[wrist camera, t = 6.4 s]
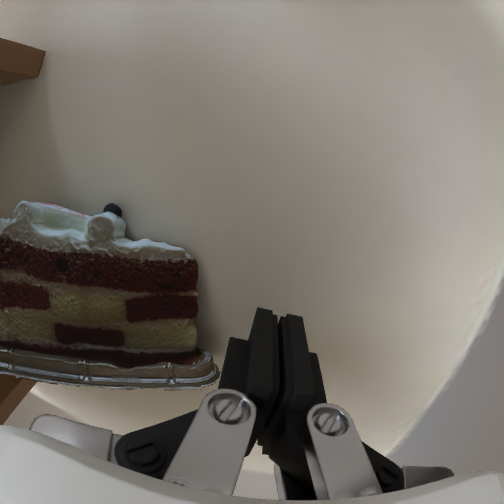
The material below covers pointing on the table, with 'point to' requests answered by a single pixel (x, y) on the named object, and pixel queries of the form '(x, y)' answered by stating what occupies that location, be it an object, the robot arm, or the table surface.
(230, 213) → the table surface
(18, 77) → the cubby shelf
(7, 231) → the chocolate cake
